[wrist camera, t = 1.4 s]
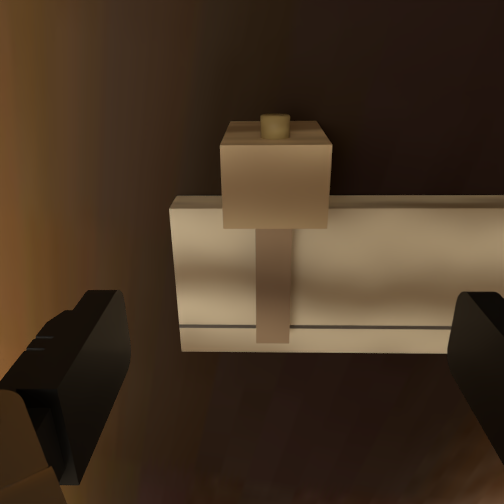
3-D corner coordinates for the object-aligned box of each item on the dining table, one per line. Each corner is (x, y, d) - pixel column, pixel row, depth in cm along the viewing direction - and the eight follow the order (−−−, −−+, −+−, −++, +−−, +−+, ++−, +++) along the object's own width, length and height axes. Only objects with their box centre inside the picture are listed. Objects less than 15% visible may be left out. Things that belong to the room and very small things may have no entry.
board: (176, 195, 29) (169, 208, 27) (633, 194, 28) (667, 208, 26) (187, 330, 33) (181, 351, 31) (586, 332, 32) (611, 355, 30)
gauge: (230, 103, 27) (219, 122, 20) (317, 102, 26) (333, 121, 20) (235, 305, 32) (228, 370, 26) (307, 306, 32) (318, 371, 26)
